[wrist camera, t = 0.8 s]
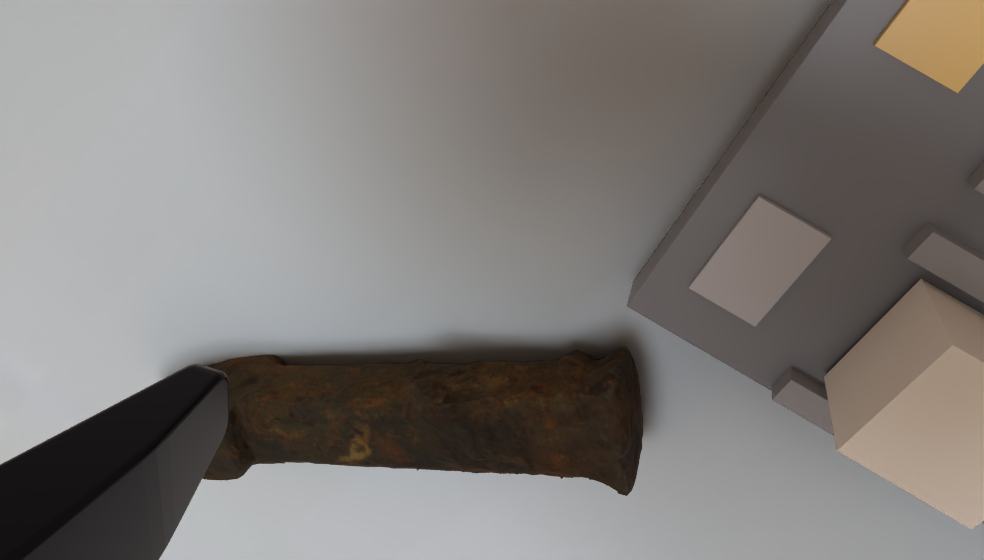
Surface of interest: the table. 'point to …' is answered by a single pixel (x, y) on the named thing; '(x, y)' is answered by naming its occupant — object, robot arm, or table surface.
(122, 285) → the table surface
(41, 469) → the robot arm
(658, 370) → the table surface
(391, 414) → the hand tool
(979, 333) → the tab
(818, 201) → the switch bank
